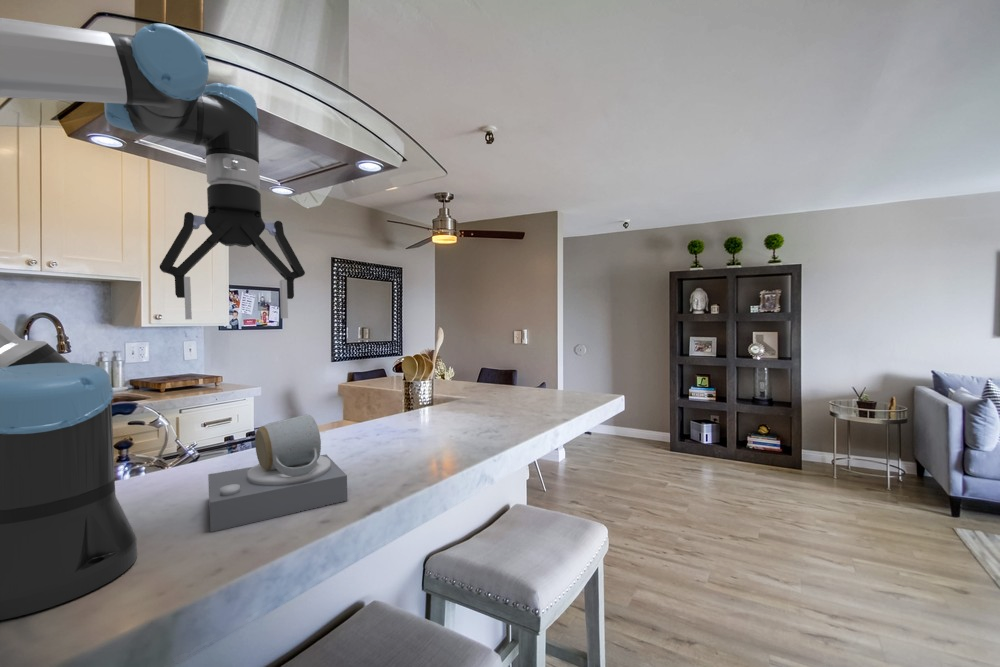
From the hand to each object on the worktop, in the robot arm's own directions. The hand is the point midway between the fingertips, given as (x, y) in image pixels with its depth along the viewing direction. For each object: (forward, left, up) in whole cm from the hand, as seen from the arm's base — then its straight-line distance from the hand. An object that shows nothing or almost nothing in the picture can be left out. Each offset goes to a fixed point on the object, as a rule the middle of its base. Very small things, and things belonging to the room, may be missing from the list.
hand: (238, 319), depth 74 cm
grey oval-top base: (+4, -7, -29) cm, 30 cm away
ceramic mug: (+6, -8, -24) cm, 26 cm away
